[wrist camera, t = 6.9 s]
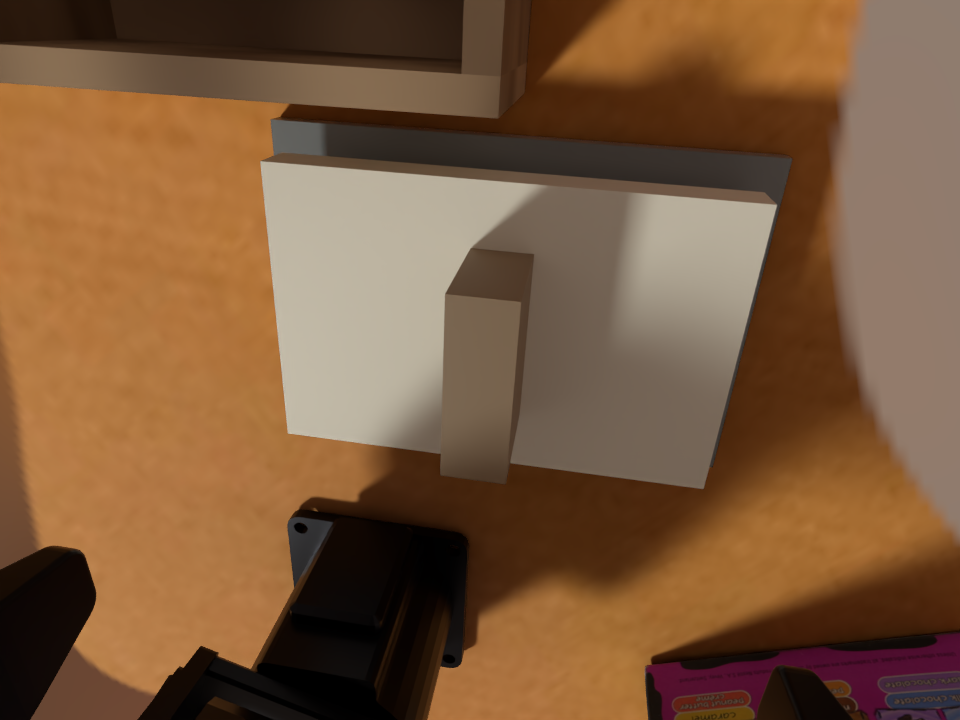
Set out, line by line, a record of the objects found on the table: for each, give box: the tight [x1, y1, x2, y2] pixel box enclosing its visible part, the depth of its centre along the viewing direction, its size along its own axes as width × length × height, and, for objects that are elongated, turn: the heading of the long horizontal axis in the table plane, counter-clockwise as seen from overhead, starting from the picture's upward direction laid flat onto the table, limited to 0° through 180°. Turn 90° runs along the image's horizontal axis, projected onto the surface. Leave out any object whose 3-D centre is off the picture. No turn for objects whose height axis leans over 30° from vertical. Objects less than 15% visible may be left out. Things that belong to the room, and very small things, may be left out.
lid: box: [260, 152, 777, 489], centre depth 16 cm, size 12×8×5 cm, turn 87°
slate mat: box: [271, 117, 792, 467], centre depth 19 cm, size 9×13×1 cm
